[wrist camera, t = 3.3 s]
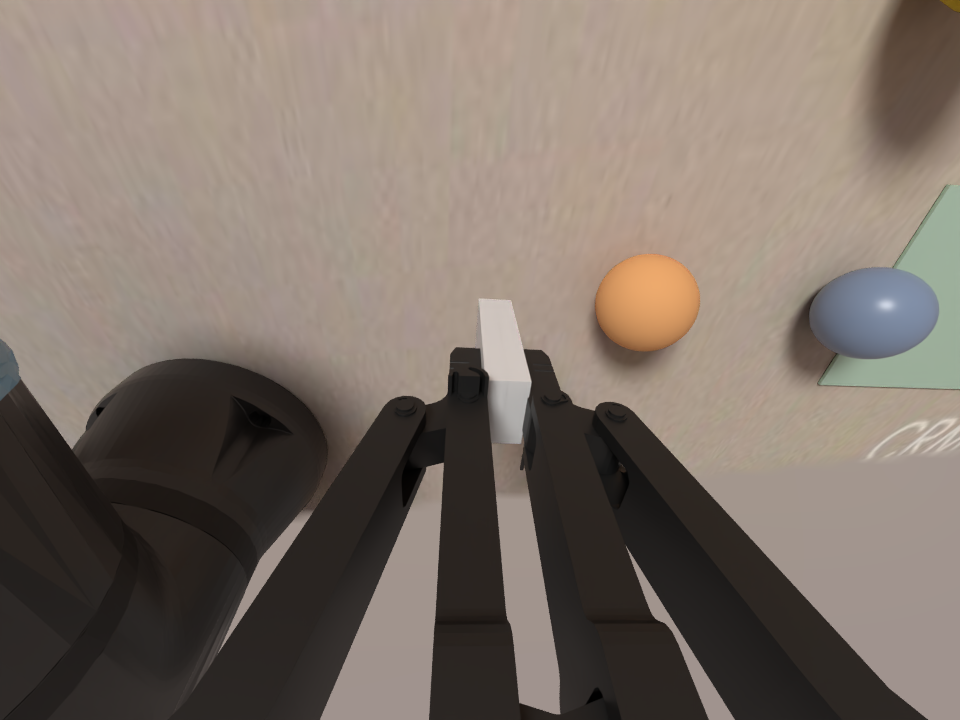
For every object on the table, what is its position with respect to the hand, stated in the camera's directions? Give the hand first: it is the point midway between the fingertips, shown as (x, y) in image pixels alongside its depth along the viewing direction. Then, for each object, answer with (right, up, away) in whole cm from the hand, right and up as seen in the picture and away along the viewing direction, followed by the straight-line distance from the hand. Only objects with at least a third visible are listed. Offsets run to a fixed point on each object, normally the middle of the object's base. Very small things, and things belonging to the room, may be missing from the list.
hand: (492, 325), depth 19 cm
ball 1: (+9, +2, +4) cm, 10 cm away
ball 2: (+23, +1, +5) cm, 23 cm away
